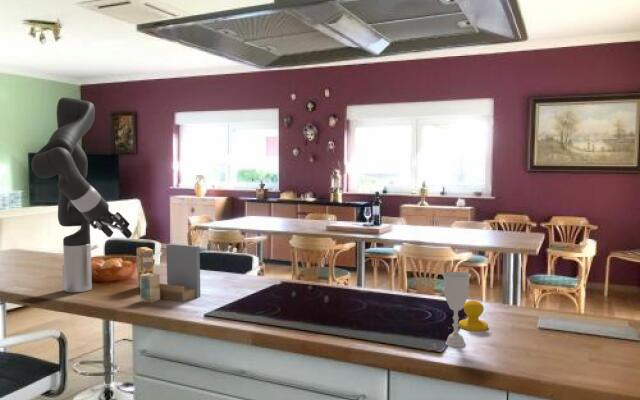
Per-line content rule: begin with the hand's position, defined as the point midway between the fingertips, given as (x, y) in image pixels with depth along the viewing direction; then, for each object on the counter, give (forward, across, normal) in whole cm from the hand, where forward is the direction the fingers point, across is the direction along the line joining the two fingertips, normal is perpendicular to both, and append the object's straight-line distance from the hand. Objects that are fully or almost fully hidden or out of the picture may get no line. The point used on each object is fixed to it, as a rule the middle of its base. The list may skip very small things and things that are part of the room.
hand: (120, 235), depth 169 cm
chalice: (+28, -104, +7) cm, 108 cm away
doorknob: (+40, -105, -5) cm, 112 cm away
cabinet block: (+26, 0, +8) cm, 27 cm away
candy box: (+34, +15, -1) cm, 38 cm away
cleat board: (+31, -5, +3) cm, 31 cm away
